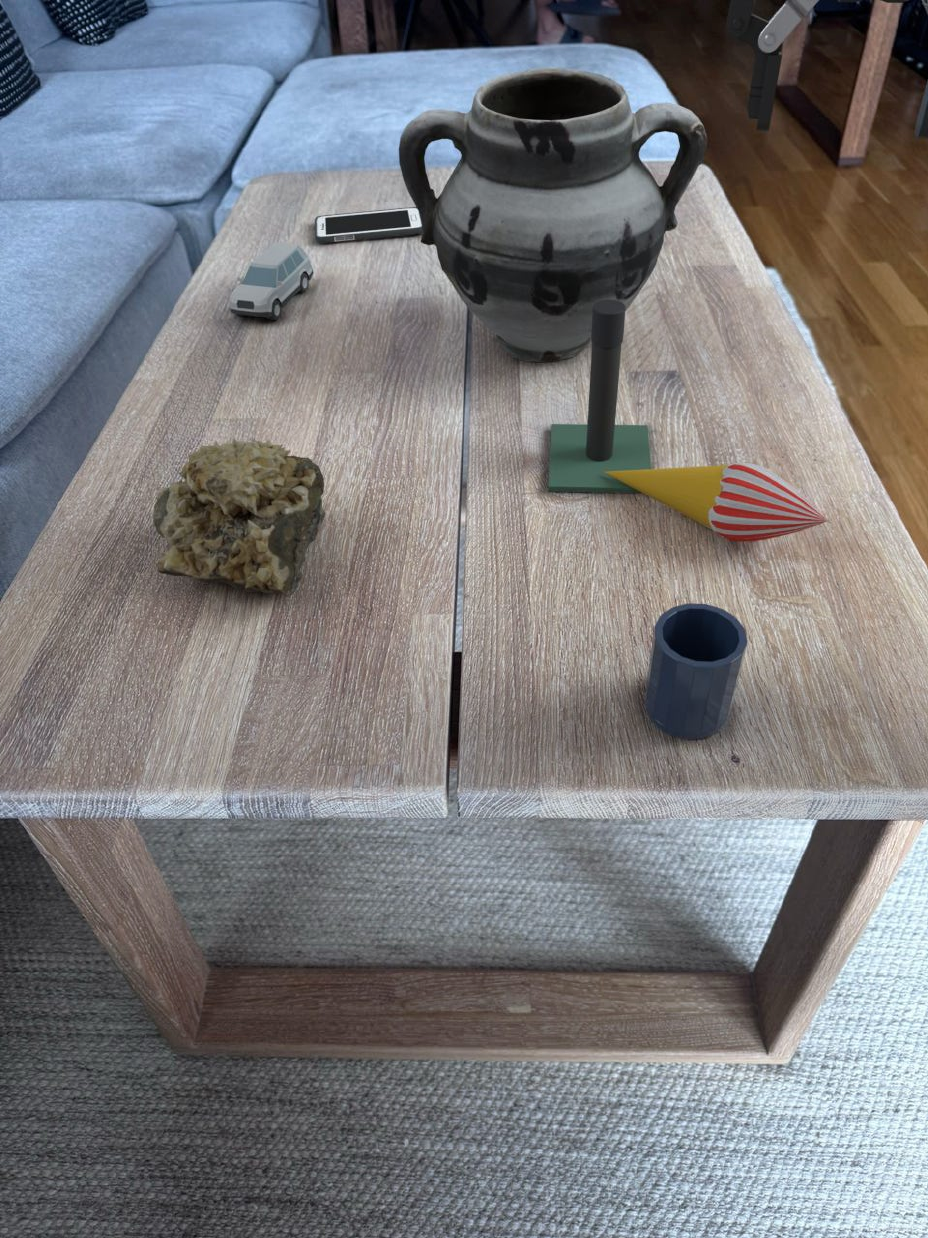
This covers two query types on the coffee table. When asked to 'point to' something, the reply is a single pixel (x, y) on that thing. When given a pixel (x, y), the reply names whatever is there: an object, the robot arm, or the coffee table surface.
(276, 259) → the toy car
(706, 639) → the pen cup
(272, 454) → the mineral specimen
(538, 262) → the ceramic pot
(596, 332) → the cylinder
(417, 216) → the cell phone
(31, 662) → the coffee table surface
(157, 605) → the coffee table surface
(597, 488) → the felt pad
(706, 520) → the ice cream cone
